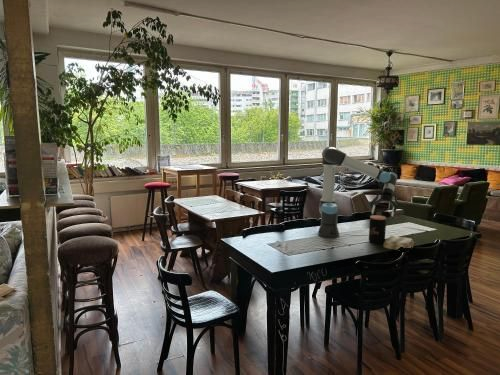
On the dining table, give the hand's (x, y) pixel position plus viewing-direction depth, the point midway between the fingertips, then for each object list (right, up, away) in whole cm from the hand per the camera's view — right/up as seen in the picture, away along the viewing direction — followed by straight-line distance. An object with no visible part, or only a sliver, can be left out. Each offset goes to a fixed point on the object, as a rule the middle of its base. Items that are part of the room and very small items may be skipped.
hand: (382, 214), depth 260 cm
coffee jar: (-5, -19, -5) cm, 20 cm away
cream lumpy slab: (+6, -21, -14) cm, 26 cm away
